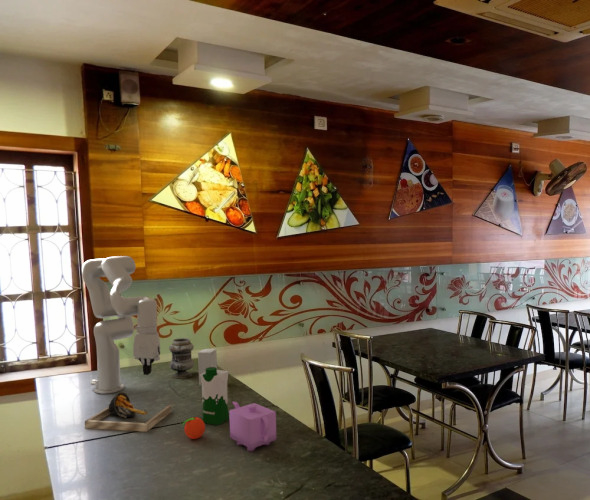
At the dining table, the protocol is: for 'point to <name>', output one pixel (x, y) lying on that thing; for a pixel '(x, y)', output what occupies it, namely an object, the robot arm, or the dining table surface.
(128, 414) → the fried shrimp in bowl
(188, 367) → the apothecary jar
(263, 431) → the teapot
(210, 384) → the milk carton
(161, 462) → the dining table surface
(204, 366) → the skincare box
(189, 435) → the clementine
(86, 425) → the serving frame
